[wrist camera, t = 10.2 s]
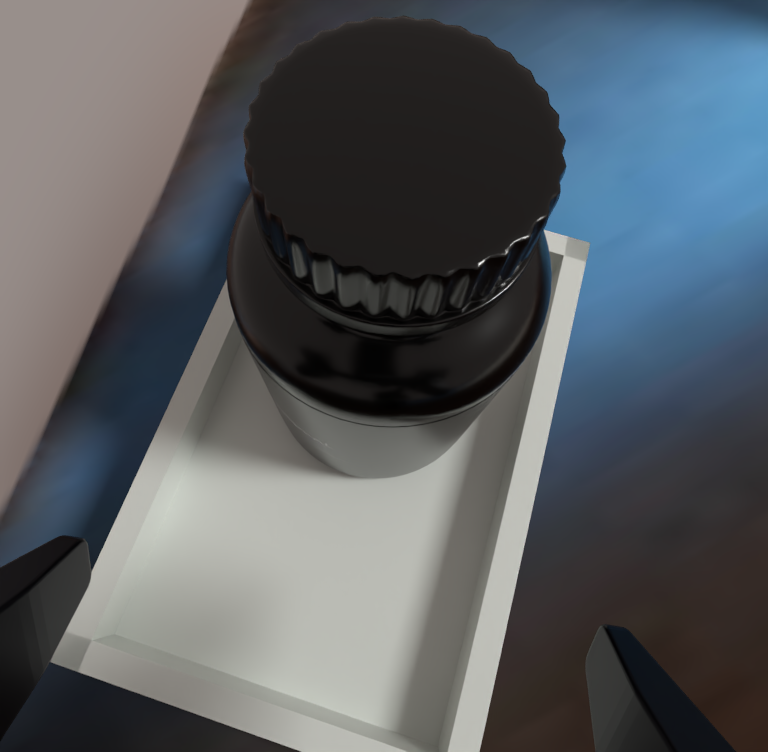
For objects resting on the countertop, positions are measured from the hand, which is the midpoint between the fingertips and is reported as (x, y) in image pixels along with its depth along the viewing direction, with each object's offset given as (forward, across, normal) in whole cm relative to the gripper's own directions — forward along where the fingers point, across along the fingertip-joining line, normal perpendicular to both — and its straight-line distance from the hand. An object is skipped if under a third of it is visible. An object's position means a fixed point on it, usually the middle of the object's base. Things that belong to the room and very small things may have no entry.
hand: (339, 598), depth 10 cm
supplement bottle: (+10, 0, +1) cm, 11 cm away
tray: (+9, +1, +2) cm, 10 cm away
